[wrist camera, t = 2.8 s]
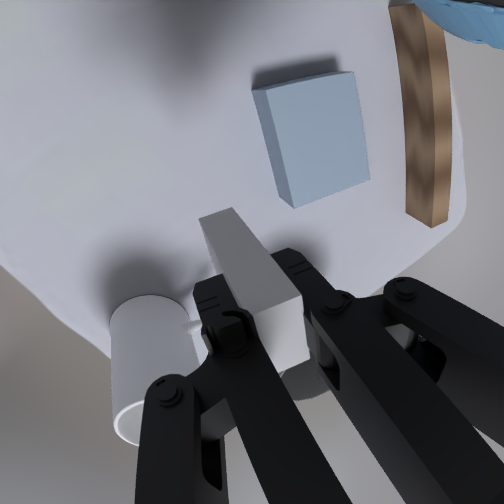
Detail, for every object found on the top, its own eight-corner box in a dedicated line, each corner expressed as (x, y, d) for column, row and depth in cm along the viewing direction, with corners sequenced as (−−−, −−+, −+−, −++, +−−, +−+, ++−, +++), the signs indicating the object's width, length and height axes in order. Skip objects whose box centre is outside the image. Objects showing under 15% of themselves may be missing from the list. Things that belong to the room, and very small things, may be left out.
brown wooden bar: (388, 7, 22) (419, 2, 19) (408, 9, 23) (439, 7, 19) (405, 212, 35) (431, 228, 31) (422, 206, 36) (447, 220, 32)
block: (249, 90, 24) (265, 90, 21) (331, 71, 25) (353, 71, 22) (277, 195, 29) (294, 208, 26) (348, 169, 30) (370, 179, 27)
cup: (319, 311, 38) (364, 367, 30) (261, 347, 38) (295, 411, 29) (297, 262, 33) (348, 322, 25) (229, 304, 33) (262, 376, 25)
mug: (193, 263, 29) (227, 357, 19) (230, 321, 34) (270, 410, 24) (92, 318, 28) (87, 419, 18) (140, 366, 33) (153, 458, 23)
